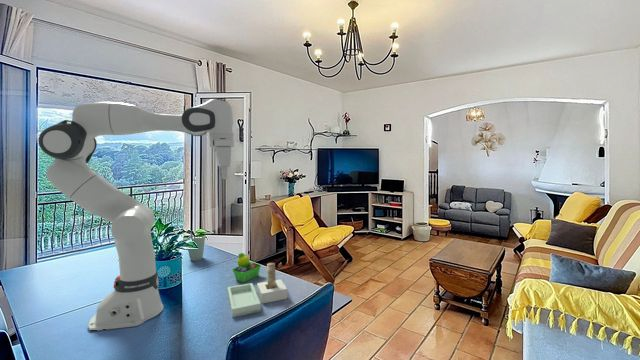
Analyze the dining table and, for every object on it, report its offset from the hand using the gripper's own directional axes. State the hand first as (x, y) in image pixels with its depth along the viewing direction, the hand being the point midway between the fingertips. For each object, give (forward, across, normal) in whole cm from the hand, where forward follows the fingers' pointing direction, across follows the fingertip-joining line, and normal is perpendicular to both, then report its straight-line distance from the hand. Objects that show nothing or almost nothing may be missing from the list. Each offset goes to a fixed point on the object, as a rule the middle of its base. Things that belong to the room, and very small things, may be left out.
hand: (223, 178), depth 116 cm
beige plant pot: (+48, -54, -12) cm, 73 cm away
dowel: (+48, +6, +16) cm, 51 cm away
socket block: (+48, +6, +16) cm, 51 cm away
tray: (+48, +7, +5) cm, 49 cm away
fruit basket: (+48, -17, +9) cm, 52 cm away
